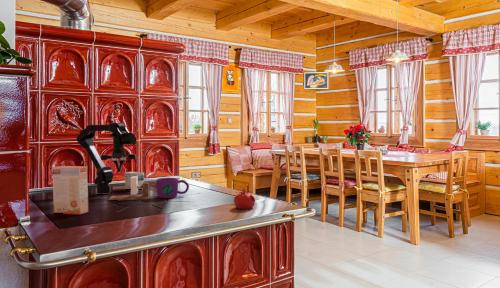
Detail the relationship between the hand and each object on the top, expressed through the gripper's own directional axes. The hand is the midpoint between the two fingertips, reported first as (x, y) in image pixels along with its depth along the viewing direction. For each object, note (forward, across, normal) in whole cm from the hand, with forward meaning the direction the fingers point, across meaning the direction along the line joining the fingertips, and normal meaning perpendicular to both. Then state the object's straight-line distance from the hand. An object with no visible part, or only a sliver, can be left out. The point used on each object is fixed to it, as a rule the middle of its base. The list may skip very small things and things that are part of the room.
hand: (119, 172), depth 222 cm
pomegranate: (+13, +63, -54) cm, 84 cm away
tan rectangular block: (+10, +9, -13) cm, 19 cm away
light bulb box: (+13, +6, +20) cm, 25 cm away
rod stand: (+13, +7, -13) cm, 20 cm away
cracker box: (+13, -14, -46) cm, 50 cm away
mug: (+13, +30, -14) cm, 36 cm away
